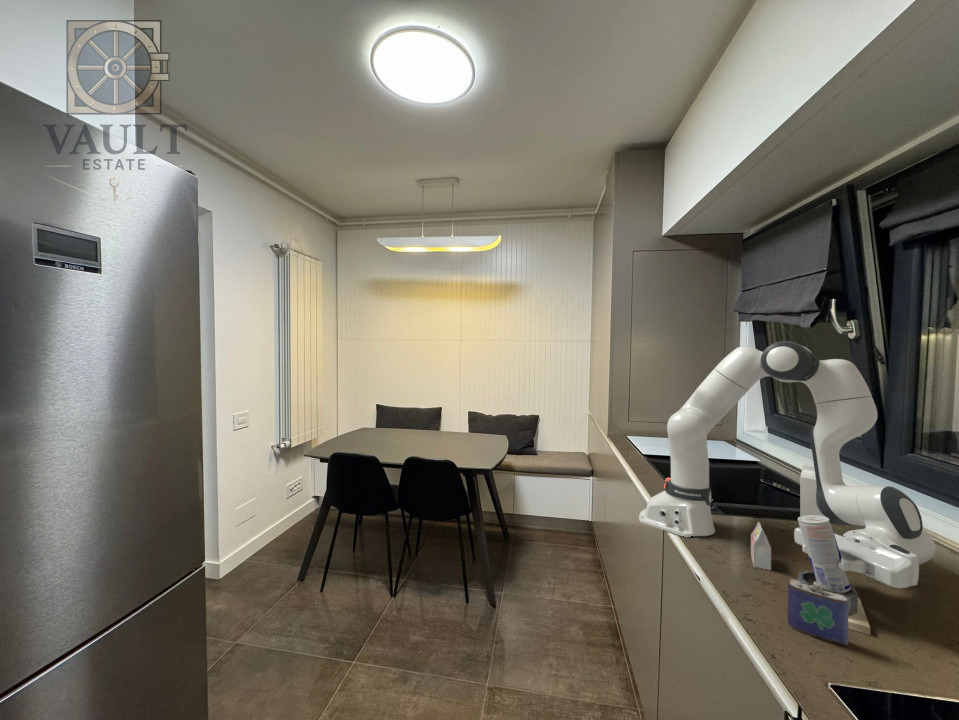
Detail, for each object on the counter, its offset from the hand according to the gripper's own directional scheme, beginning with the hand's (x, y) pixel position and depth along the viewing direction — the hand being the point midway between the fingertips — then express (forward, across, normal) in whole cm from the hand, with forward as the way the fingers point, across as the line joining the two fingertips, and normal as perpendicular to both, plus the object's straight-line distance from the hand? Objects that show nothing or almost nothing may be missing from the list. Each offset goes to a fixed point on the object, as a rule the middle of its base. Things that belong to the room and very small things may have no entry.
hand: (821, 557), depth 84 cm
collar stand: (-1, 0, +11) cm, 11 cm away
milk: (-33, -25, +11) cm, 43 cm away
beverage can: (-2, +2, +6) cm, 7 cm away
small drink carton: (-4, -18, +12) cm, 22 cm away
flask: (+10, +6, +12) cm, 16 cm away
